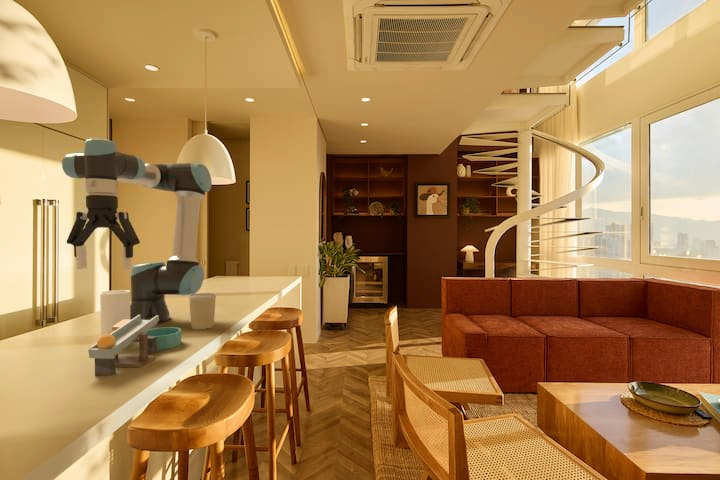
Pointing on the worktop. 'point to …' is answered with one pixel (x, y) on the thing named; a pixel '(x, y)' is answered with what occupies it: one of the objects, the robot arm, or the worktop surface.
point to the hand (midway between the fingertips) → (104, 269)
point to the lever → (123, 336)
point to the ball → (106, 342)
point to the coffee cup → (202, 310)
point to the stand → (128, 357)
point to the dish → (166, 337)
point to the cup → (113, 309)
